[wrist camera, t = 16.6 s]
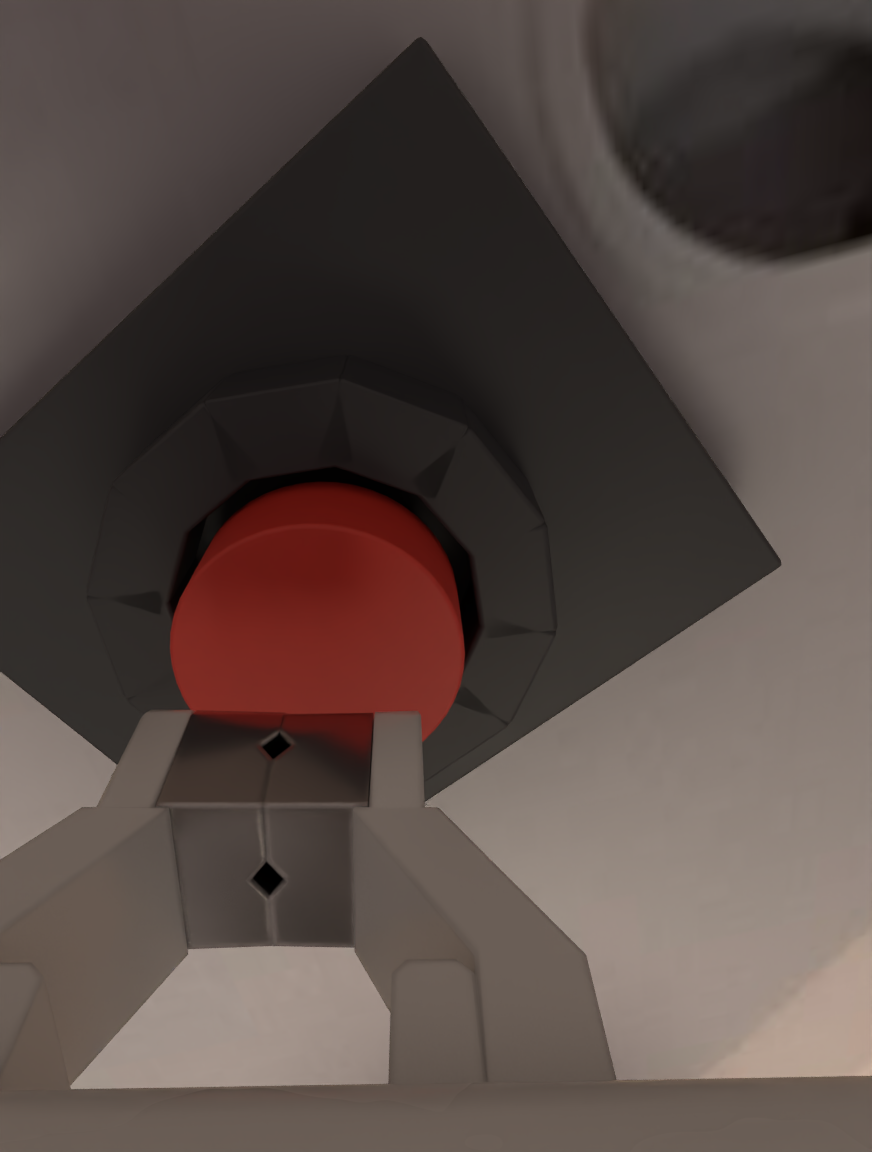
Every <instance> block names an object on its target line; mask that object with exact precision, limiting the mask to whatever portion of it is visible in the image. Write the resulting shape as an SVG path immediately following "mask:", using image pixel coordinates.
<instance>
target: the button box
mask: <svg viewBox="0 0 872 1152" xmlns="http://www.w3.org/2000/svg"><path fill="white" fill-rule="evenodd" d="M308 482H339V483H345V484H352V485H356V486H360V487H363V488H367V489H370V490H373V491H375V492H378V493H380V494H383V495H385V496H387V497H389V498H391V499H393V500H394V501H396V502H398V503H400V504H401V505H403V506H404V507H406V508H407V509H408V510H410V511H411V512H412V513H414V514H415V515H416V516H417V517H418V518H419V519H420V520H421V521H422V522H423V523H424V524H425V525H426V526H427V527H428V528H429V529H430V530H431V531H432V533H433V534H434V535H435V536H436V538H437V539H438V540H439V542H440V544H441V545H442V547H443V549H444V551H445V552H446V554H447V556H448V559H449V561H450V564H451V566H452V569H453V572H454V577H455V581H456V585H457V592H458V600H459V607H460V614H461V622H462V629H463V637H464V648H465V659H464V671H463V675H462V680H461V685H460V687H459V690H458V693H457V695H456V698H455V700H454V702H453V704H452V706H451V708H450V709H449V711H448V713H447V715H446V716H445V717H444V719H443V720H442V721H441V723H440V724H439V725H438V727H437V728H436V729H435V730H434V731H433V732H432V733H431V734H430V735H429V736H428V737H427V738H426V739H425V740H424V741H423V742H422V752H423V776H424V801H427V800H428V799H430V798H431V797H433V796H434V795H436V794H437V793H439V792H440V791H442V790H443V789H445V788H446V787H448V786H449V785H451V784H452V783H454V782H455V781H457V780H458V779H460V778H462V777H463V776H465V775H466V774H468V773H469V772H471V771H472V770H474V769H475V768H477V767H478V766H480V765H481V764H483V763H484V762H486V761H487V760H489V759H490V758H492V757H493V756H495V755H496V754H498V753H499V752H501V751H502V750H504V749H505V748H507V747H508V746H510V745H511V744H513V743H514V742H516V741H517V740H519V739H520V738H522V737H523V736H525V735H526V734H528V733H529V732H531V731H532V730H534V729H535V728H537V727H538V726H540V725H542V724H543V723H545V722H546V721H548V720H549V719H551V718H552V717H554V716H555V715H557V714H558V713H560V712H561V711H563V710H564V709H566V708H567V707H569V706H570V705H572V704H573V703H575V702H576V701H578V700H579V699H581V698H582V697H584V696H585V695H587V694H588V693H590V692H591V691H593V690H594V689H596V688H597V687H599V686H600V685H602V684H603V683H605V682H606V681H608V680H609V679H611V678H612V677H614V676H615V675H617V674H618V673H620V672H622V671H623V670H625V669H626V668H628V667H629V666H631V665H632V664H634V663H635V662H637V661H638V660H640V659H641V658H643V657H644V656H646V655H647V654H649V653H650V652H652V651H653V650H655V649H656V648H658V647H659V646H661V645H662V644H664V643H665V642H667V641H668V640H670V639H671V638H673V637H674V636H676V635H677V634H679V633H680V632H682V631H683V630H685V629H686V628H688V627H689V626H691V625H692V624H694V623H695V622H697V621H698V620H700V619H702V618H703V617H705V616H706V615H708V614H709V613H711V612H712V611H714V610H715V609H717V608H718V607H720V606H721V605H723V604H724V603H726V602H727V601H729V600H730V599H732V598H733V597H735V596H736V595H738V594H739V593H741V592H742V591H744V590H745V589H747V588H748V587H750V586H751V585H753V584H754V583H756V582H757V581H759V580H760V579H762V578H763V577H765V576H766V575H768V574H769V573H771V572H772V571H774V570H775V569H777V568H778V567H780V566H781V560H780V558H779V557H778V555H777V554H776V553H775V551H774V550H773V548H772V547H771V545H770V544H769V542H768V541H767V539H766V538H765V536H764V535H763V533H762V532H761V531H760V529H759V528H758V526H757V525H756V523H755V522H754V520H753V519H752V517H751V516H750V514H749V513H748V511H747V510H746V509H745V507H744V506H743V504H742V503H741V501H740V500H739V498H738V497H737V495H736V494H735V492H734V491H733V489H732V488H731V487H730V485H729V484H728V482H727V481H726V479H725V478H724V476H723V475H722V473H721V472H720V470H719V469H718V468H717V466H716V465H715V463H714V462H713V460H712V459H711V457H710V456H709V454H708V453H707V451H706V450H705V448H704V447H703V446H702V444H701V443H700V441H699V440H698V438H697V437H696V435H695V434H694V432H693V431H692V429H691V428H690V426H689V425H688V424H687V422H686V421H685V419H684V418H683V416H682V415H681V413H680V412H679V410H678V409H677V407H676V406H675V404H674V403H673V402H672V400H671V399H670V397H669V396H668V394H667V393H666V391H665V390H664V388H663V387H662V385H661V384H660V382H659V381H658V380H657V378H656V377H655V375H654V374H653V372H652V371H651V369H650V368H649V366H648V365H647V363H646V362H645V361H644V359H643V358H642V356H641V355H640V353H639V352H638V350H637V349H636V347H635V346H634V344H633V343H632V341H631V340H630V339H629V337H628V336H627V334H626V333H625V331H624V330H623V328H622V327H621V325H620V324H619V322H618V321H617V319H616V318H615V317H614V315H613V314H612V312H611V311H610V309H609V308H608V306H607V305H606V303H605V302H604V300H603V299H602V297H601V296H600V295H599V293H598V292H597V290H596V289H595V287H594V286H593V284H592V283H591V281H590V280H589V278H588V277H587V275H586V274H585V273H584V271H583V270H582V268H581V267H580V265H579V264H578V262H577V261H576V259H575V258H574V256H573V255H572V254H571V252H570V251H569V249H568V248H567V246H566V245H565V243H564V242H563V240H562V239H561V237H560V236H559V234H558V233H557V232H556V230H555V229H554V227H553V226H552V224H551V223H550V221H549V220H548V218H547V217H546V215H545V214H544V212H543V211H542V210H541V208H540V207H539V205H538V204H537V202H536V201H535V199H534V198H533V196H532V195H531V193H530V192H529V190H528V189H527V188H526V186H525V185H524V183H523V182H522V180H521V179H520V177H519V176H518V174H517V173H516V171H515V170H514V168H513V167H512V166H511V164H510V163H509V161H508V160H507V158H506V157H505V155H504V154H503V152H502V151H501V149H500V148H499V147H498V145H497V144H496V142H495V141H494V139H493V138H492V136H491V135H490V133H489V132H488V130H487V129H486V127H485V126H484V125H483V123H482V122H481V120H480V119H479V117H478V116H477V114H476V113H475V111H474V110H473V108H472V107H471V105H470V104H469V103H468V101H467V100H466V98H465V97H464V95H463V94H462V92H461V91H460V89H459V88H458V86H457V85H456V83H455V82H454V81H453V79H452V78H451V76H450V75H449V73H448V72H447V70H446V69H445V67H444V66H443V64H442V63H441V61H440V60H439V59H438V57H437V56H436V54H435V53H434V51H433V50H432V48H431V47H430V45H429V44H428V42H427V41H426V40H425V39H423V38H422V37H420V38H417V39H416V40H415V41H414V42H413V43H412V44H411V45H409V46H408V47H407V48H406V49H405V50H404V51H403V52H402V53H401V54H400V55H399V56H398V57H397V58H396V59H395V60H394V61H393V62H392V63H391V64H390V65H389V66H388V67H387V68H386V69H384V70H383V71H382V72H381V73H380V74H379V75H378V76H377V77H376V78H375V79H374V80H373V81H372V82H371V83H370V84H369V85H368V86H367V87H366V88H365V89H364V90H363V91H362V92H361V93H359V94H358V95H357V96H356V97H355V98H354V99H353V100H352V101H351V102H350V103H349V104H348V105H347V106H346V107H345V108H344V109H343V110H342V111H341V112H340V113H339V114H338V115H337V116H336V117H334V118H333V119H332V120H331V121H330V122H329V123H328V124H327V125H326V126H325V127H324V128H323V129H322V130H321V131H320V132H319V133H318V134H317V135H316V136H315V137H314V138H313V139H312V140H310V141H309V142H308V143H307V144H306V145H305V146H304V147H303V148H302V149H301V150H300V151H299V152H298V153H297V154H296V155H295V156H294V157H293V158H292V159H291V160H290V161H289V162H288V163H287V164H285V165H284V166H283V167H282V168H281V169H280V170H279V171H278V172H277V173H276V174H275V175H274V176H273V177H272V178H271V179H270V180H269V181H268V182H267V183H266V184H265V185H264V186H263V187H262V188H260V189H259V190H258V191H257V192H256V193H255V194H254V195H253V196H252V197H251V198H250V199H249V200H248V201H247V202H246V203H245V204H244V205H243V206H242V207H241V208H240V209H239V210H238V211H237V212H235V213H234V214H233V215H232V216H231V217H230V218H229V219H228V220H227V221H226V222H225V223H224V224H223V225H222V226H221V227H220V228H219V229H218V230H217V231H216V232H215V233H214V234H213V235H211V236H210V237H209V238H208V239H207V240H206V241H205V242H204V243H203V244H202V245H201V246H200V247H199V248H198V249H197V250H196V251H195V252H194V253H193V254H192V255H191V256H190V257H189V258H188V259H186V260H185V261H184V262H183V263H182V264H181V265H180V266H179V267H178V268H177V269H176V270H175V271H174V272H173V273H172V274H171V275H170V276H169V277H168V278H167V279H166V280H165V281H164V282H163V283H161V284H160V285H159V286H158V287H157V288H156V289H155V290H154V291H153V292H152V293H151V294H150V295H149V296H148V297H147V298H146V299H145V300H144V301H143V302H142V303H141V304H140V305H139V306H138V307H136V308H135V309H134V310H133V311H132V312H131V313H130V314H129V315H128V316H127V317H126V318H125V319H124V320H123V321H122V322H121V323H120V324H119V325H118V326H117V327H116V328H115V329H114V330H113V331H111V332H110V333H109V334H108V335H107V336H106V337H105V338H104V339H103V340H102V341H101V342H100V343H99V344H98V345H97V346H96V347H95V348H94V349H93V350H92V351H91V352H90V353H89V354H87V355H86V356H85V357H84V358H83V359H82V360H81V361H80V362H79V363H78V364H77V365H76V366H75V367H74V368H73V369H72V370H71V371H70V372H69V373H68V374H67V375H66V376H65V377H64V378H62V379H61V380H60V381H59V382H58V383H57V384H56V385H55V386H54V387H53V388H52V389H51V390H50V391H49V392H48V393H47V394H46V395H45V396H44V397H43V398H42V399H41V400H40V401H39V402H37V403H36V404H35V405H34V406H33V407H32V408H31V409H30V410H29V411H28V412H27V413H26V414H25V415H24V416H23V417H22V418H21V419H20V420H19V421H18V422H17V423H16V424H15V425H14V426H12V427H11V428H10V429H9V430H8V431H7V432H6V433H5V434H4V435H3V436H2V437H1V438H0V671H1V672H2V673H3V674H4V675H6V676H7V677H8V678H9V679H11V680H12V681H13V682H14V683H16V684H17V685H18V686H19V687H21V688H22V689H23V690H24V691H26V692H27V693H28V694H29V695H31V696H32V697H33V698H34V699H36V700H37V701H38V702H39V703H41V704H42V705H43V706H44V707H46V708H47V709H48V710H49V711H51V712H52V713H53V714H54V715H56V716H57V717H58V718H60V719H61V720H62V721H63V722H65V723H66V724H67V725H68V726H70V727H71V728H72V729H73V730H75V731H76V732H77V733H78V734H80V735H81V736H82V737H83V738H85V739H86V740H87V741H88V742H90V743H91V744H92V745H93V746H95V747H96V748H97V749H98V750H100V751H101V752H102V753H103V754H105V755H106V756H107V757H108V758H110V759H111V760H112V761H113V762H115V763H116V764H117V765H118V763H119V761H120V759H121V757H122V755H123V753H124V751H125V749H126V747H127V745H128V743H129V741H130V739H131V737H132V735H133V733H134V731H135V729H136V727H137V725H138V723H139V721H140V719H141V717H142V716H143V715H144V714H145V713H146V712H148V711H150V710H190V708H189V707H188V705H187V703H186V702H185V700H184V698H183V696H182V694H181V692H180V689H179V687H178V685H177V682H176V679H175V675H174V671H173V668H172V663H171V654H170V631H171V626H172V621H173V616H174V613H175V610H176V607H177V605H178V602H179V599H180V597H181V595H182V594H183V592H184V590H185V588H186V586H187V584H188V583H189V581H190V579H191V577H192V575H193V574H194V572H195V570H196V568H197V566H198V564H199V563H200V561H201V559H202V557H203V555H204V554H205V552H206V550H207V548H208V546H209V545H210V543H211V541H212V539H213V537H214V536H215V534H216V533H217V532H218V530H219V529H220V528H221V527H222V525H223V524H224V523H225V522H226V521H227V520H228V519H229V518H230V517H231V516H232V515H233V514H234V513H235V512H236V511H238V510H239V509H240V508H242V507H243V506H245V505H246V504H247V503H249V502H250V501H252V500H254V499H256V498H258V497H260V496H261V495H263V494H265V493H268V492H271V491H273V490H276V489H279V488H281V487H285V486H290V485H294V484H299V483H308Z"/></svg>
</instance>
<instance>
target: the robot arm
mask: <svg viewBox="0 0 872 1152" xmlns="http://www.w3.org/2000/svg"><path fill="white" fill-rule="evenodd" d="M253 946H305V947H355V953H356V955H357V956H358V958H359V960H360V961H361V963H362V965H363V967H364V968H365V970H366V972H367V973H368V975H369V977H370V979H371V980H372V982H373V984H374V985H375V987H376V989H377V991H378V992H379V994H380V996H381V997H382V999H383V1001H384V1003H385V1004H386V1006H387V1008H388V1009H389V1011H390V1013H391V1017H390V1051H389V1084H360V1085H300V1086H241V1087H183V1088H125V1089H71V1088H70V1085H71V1084H72V1083H73V1082H74V1081H75V1080H76V1079H77V1077H78V1076H79V1075H80V1074H81V1073H82V1072H83V1071H84V1070H85V1069H86V1067H87V1066H88V1065H89V1064H90V1063H91V1062H92V1061H93V1060H94V1058H95V1057H96V1056H97V1055H98V1054H99V1053H100V1052H101V1051H102V1050H103V1048H104V1047H105V1046H106V1045H107V1044H108V1043H109V1042H110V1041H111V1039H112V1038H113V1037H114V1036H115V1035H116V1034H117V1033H118V1032H119V1031H120V1029H121V1028H122V1027H123V1026H124V1025H125V1024H126V1023H127V1022H128V1020H129V1019H130V1018H131V1017H132V1016H133V1015H134V1014H135V1013H136V1012H137V1010H138V1009H139V1008H140V1007H141V1006H142V1005H143V1004H144V1003H145V1002H146V1000H147V999H148V998H149V997H150V996H151V995H152V994H153V993H154V991H155V990H156V989H157V988H158V987H159V986H160V985H161V984H162V983H163V981H164V980H165V979H166V978H167V977H168V976H169V975H170V974H171V972H172V971H173V970H174V969H175V968H176V967H177V966H178V965H179V964H180V962H181V961H182V960H183V959H184V958H185V957H186V956H187V955H188V949H199V948H226V947H253ZM0 1152H872V1076H838V1077H780V1078H722V1079H664V1080H616V1076H615V1072H614V1068H613V1064H612V1060H611V1056H610V1051H609V1047H608V1043H607V1039H606V1035H605V1031H604V1027H603V1023H602V1019H601V1014H600V1010H599V1006H598V1002H597V998H596V994H595V990H594V986H593V982H592V978H591V973H590V969H589V965H588V961H587V957H586V954H585V953H584V952H583V951H582V950H581V949H580V948H579V947H578V946H577V945H576V944H575V943H574V942H573V941H572V940H571V939H570V938H569V937H568V936H567V935H566V934H565V933H564V932H563V931H562V930H561V929H560V928H559V927H558V926H557V925H556V924H555V923H554V922H553V921H552V920H551V919H550V918H549V917H548V916H547V915H546V914H545V913H544V912H543V911H542V910H541V909H540V908H539V907H538V906H537V905H536V904H535V903H534V902H533V901H532V900H531V899H530V898H529V897H528V896H526V895H525V894H524V893H523V892H522V891H521V890H520V889H519V888H518V887H517V886H516V885H515V884H514V883H513V882H512V881H511V880H510V879H509V878H508V877H507V876H506V875H505V874H504V873H503V872H502V871H501V870H500V869H499V868H498V867H497V866H496V865H495V864H494V863H493V862H492V861H491V860H490V859H489V858H488V857H487V856H486V855H485V854H484V853H483V852H482V851H481V850H480V849H479V848H478V847H477V846H476V845H475V844H474V843H473V842H472V841H471V840H470V839H469V838H468V837H467V836H466V835H465V834H464V833H463V832H462V831H461V830H460V829H459V828H458V827H457V826H456V825H455V824H454V823H453V822H452V821H451V820H450V819H449V818H448V817H447V816H446V815H445V814H444V813H443V812H442V811H441V810H440V809H439V808H437V807H425V801H424V776H423V752H422V728H421V715H420V713H419V712H418V711H392V712H375V714H373V713H307V714H286V713H284V712H247V711H210V710H197V711H196V712H195V711H193V710H150V711H148V712H146V713H145V714H144V715H143V716H142V717H141V719H140V721H139V723H138V725H137V727H136V729H135V731H134V733H133V735H132V737H131V739H130V741H129V743H128V745H127V747H126V749H125V751H124V753H123V755H122V757H121V759H120V761H119V763H118V765H117V767H116V769H115V771H114V773H113V775H112V777H111V779H110V781H109V783H108V785H107V787H106V789H105V791H104V793H103V795H102V797H101V799H100V801H99V803H98V805H97V807H82V808H80V809H79V810H77V811H76V812H74V813H73V814H71V815H69V816H68V817H66V818H65V819H63V820H62V821H60V822H59V823H57V824H55V825H54V826H52V827H51V828H49V829H48V830H46V831H45V832H43V833H41V834H40V835H38V836H37V837H35V838H34V839H32V840H31V841H29V842H27V843H26V844H24V845H23V846H21V847H20V848H18V849H16V850H15V851H13V852H12V853H10V854H9V855H7V856H6V857H4V858H2V859H1V860H0Z"/></svg>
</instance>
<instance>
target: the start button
mask: <svg viewBox="0 0 872 1152" xmlns="http://www.w3.org/2000/svg"><path fill="white" fill-rule="evenodd" d="M170 654H171V663H172V668H173V671H174V675H175V679H176V682H177V685H178V687H179V689H180V692H181V694H182V696H183V698H184V700H185V702H186V703H187V705H188V707H189V708H190V710H193V711H195V712H196V711H197V710H210V711H247V712H284V713H286V714H307V713H373V714H375V712H392V711H418V712H419V713H420V715H421V728H422V742H423V741H424V740H425V739H426V738H427V737H428V736H429V735H430V734H431V733H432V732H433V731H434V730H435V729H436V728H437V727H438V725H439V724H440V723H441V721H442V720H443V719H444V717H445V716H446V715H447V713H448V711H449V709H450V708H451V706H452V704H453V702H454V700H455V698H456V695H457V693H458V690H459V687H460V685H461V680H462V675H463V671H464V659H465V648H464V637H463V629H462V622H461V614H460V607H459V600H458V592H457V585H456V581H455V577H454V572H453V569H452V566H451V564H450V561H449V559H448V556H447V554H446V552H445V551H444V549H443V547H442V545H441V544H440V542H439V540H438V539H437V538H436V536H435V535H434V534H433V533H432V531H431V530H430V529H429V528H428V527H427V526H426V525H425V524H424V523H423V522H422V521H421V520H420V519H419V518H418V517H417V516H416V515H415V514H414V513H412V512H411V511H410V510H408V509H407V508H406V507H404V506H403V505H401V504H400V503H398V502H396V501H394V500H393V499H391V498H389V497H387V496H385V495H383V494H380V493H378V492H375V491H373V490H370V489H367V488H363V487H360V486H356V485H352V484H345V483H339V482H308V483H299V484H294V485H290V486H285V487H281V488H279V489H276V490H273V491H271V492H268V493H265V494H263V495H261V496H260V497H258V498H256V499H254V500H252V501H250V502H249V503H247V504H246V505H245V506H243V507H242V508H240V509H239V510H238V511H236V512H235V513H234V514H233V515H232V516H231V517H230V518H229V519H228V520H227V521H226V522H225V523H224V524H223V525H222V527H221V528H220V529H219V530H218V532H217V533H216V534H215V536H214V537H213V539H212V541H211V543H210V545H209V546H208V548H207V550H206V552H205V554H204V555H203V557H202V559H201V561H200V563H199V564H198V566H197V568H196V570H195V572H194V574H193V575H192V577H191V579H190V581H189V583H188V584H187V586H186V588H185V590H184V592H183V594H182V595H181V597H180V599H179V602H178V605H177V607H176V610H175V613H174V616H173V621H172V626H171V631H170Z"/></svg>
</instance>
